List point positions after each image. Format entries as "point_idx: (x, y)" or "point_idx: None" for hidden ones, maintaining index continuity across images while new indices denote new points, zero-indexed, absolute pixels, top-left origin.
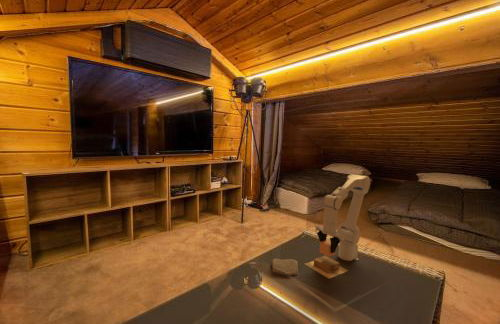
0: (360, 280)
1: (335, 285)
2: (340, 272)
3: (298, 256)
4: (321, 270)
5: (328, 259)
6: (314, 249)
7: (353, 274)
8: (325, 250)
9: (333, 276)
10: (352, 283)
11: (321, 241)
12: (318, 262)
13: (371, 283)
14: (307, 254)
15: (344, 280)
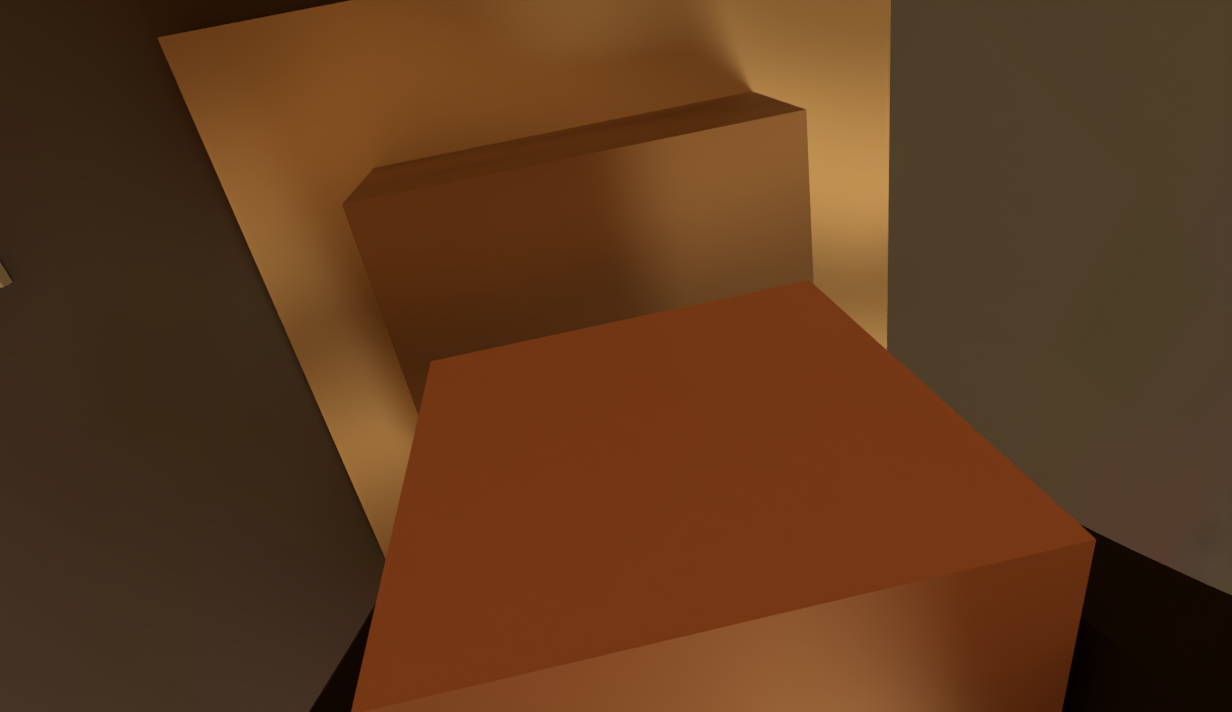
0: (172, 592)
1: (3, 68)
2: (368, 437)
3: (1197, 58)
4: (515, 118)
5: None
6: (1161, 505)
7: (349, 599)
8: (578, 418)
9: (245, 214)
10: (84, 432)
11: (1059, 611)
12: (653, 136)
13: (83, 674)
14: (1132, 294)
15: (187, 366)
